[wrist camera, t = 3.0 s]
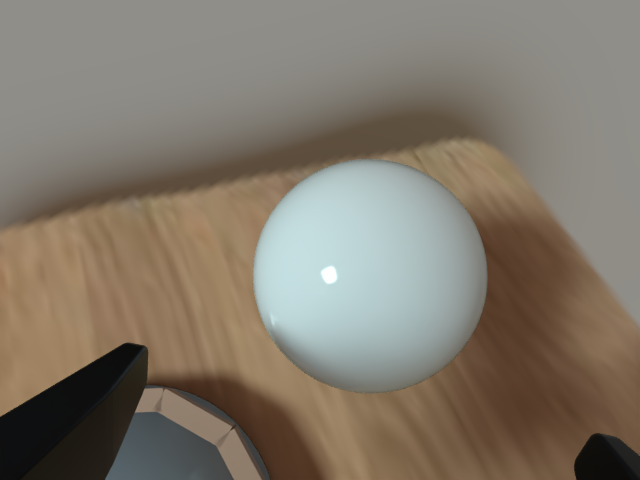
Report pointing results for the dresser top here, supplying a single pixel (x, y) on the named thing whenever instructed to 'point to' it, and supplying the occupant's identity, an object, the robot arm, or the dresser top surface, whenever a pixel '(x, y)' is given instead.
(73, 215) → the dresser top surface
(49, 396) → the robot arm
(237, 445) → the round dish
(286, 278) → the lightbulb
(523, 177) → the dresser top surface
